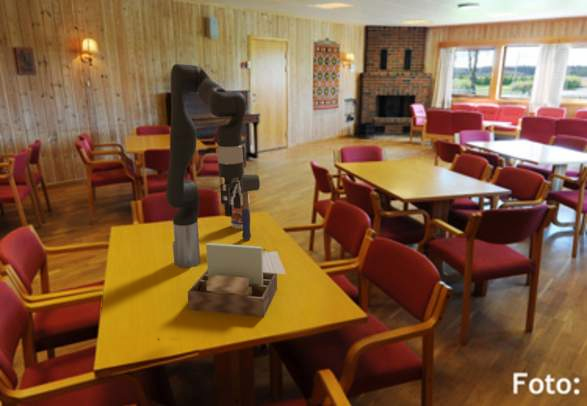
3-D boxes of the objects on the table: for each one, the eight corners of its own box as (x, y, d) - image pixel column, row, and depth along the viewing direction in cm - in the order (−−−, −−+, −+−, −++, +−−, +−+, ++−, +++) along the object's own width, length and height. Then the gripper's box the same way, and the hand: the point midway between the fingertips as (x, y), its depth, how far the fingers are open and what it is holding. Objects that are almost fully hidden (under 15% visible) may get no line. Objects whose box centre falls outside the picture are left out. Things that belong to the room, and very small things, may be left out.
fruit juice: (254, 226, 215) (252, 171, 207) (237, 230, 209) (235, 173, 202) (243, 222, 222) (241, 167, 214) (227, 225, 216) (225, 170, 209)
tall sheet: (209, 295, 144) (206, 244, 139) (211, 293, 145) (208, 242, 140) (262, 300, 141) (261, 248, 136) (263, 298, 142) (262, 246, 137)
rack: (189, 313, 136) (187, 291, 134) (210, 287, 153) (209, 267, 151) (264, 321, 132) (263, 298, 129) (277, 293, 149) (276, 273, 146)
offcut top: (206, 290, 134) (206, 281, 134) (212, 283, 139) (212, 274, 138) (244, 294, 132) (243, 285, 132) (248, 286, 137) (248, 277, 136)
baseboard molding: (256, 291, 151) (290, 288, 154) (256, 283, 151) (290, 280, 153) (248, 256, 181) (277, 254, 183) (248, 250, 180) (276, 248, 182)
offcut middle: (210, 299, 135) (209, 290, 134) (216, 292, 140) (215, 283, 139) (247, 303, 133) (247, 294, 132) (252, 295, 138) (251, 286, 137)
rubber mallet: (234, 243, 193) (231, 177, 185) (231, 237, 200) (229, 173, 192) (261, 240, 196) (260, 175, 188) (258, 235, 203) (257, 172, 195)
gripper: (226, 156, 138) (228, 205, 143) (210, 164, 125) (213, 218, 129) (249, 156, 137) (251, 206, 141) (235, 165, 124) (238, 219, 128)
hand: (233, 212), depth 135 cm, fingers open, 8 cm apart
